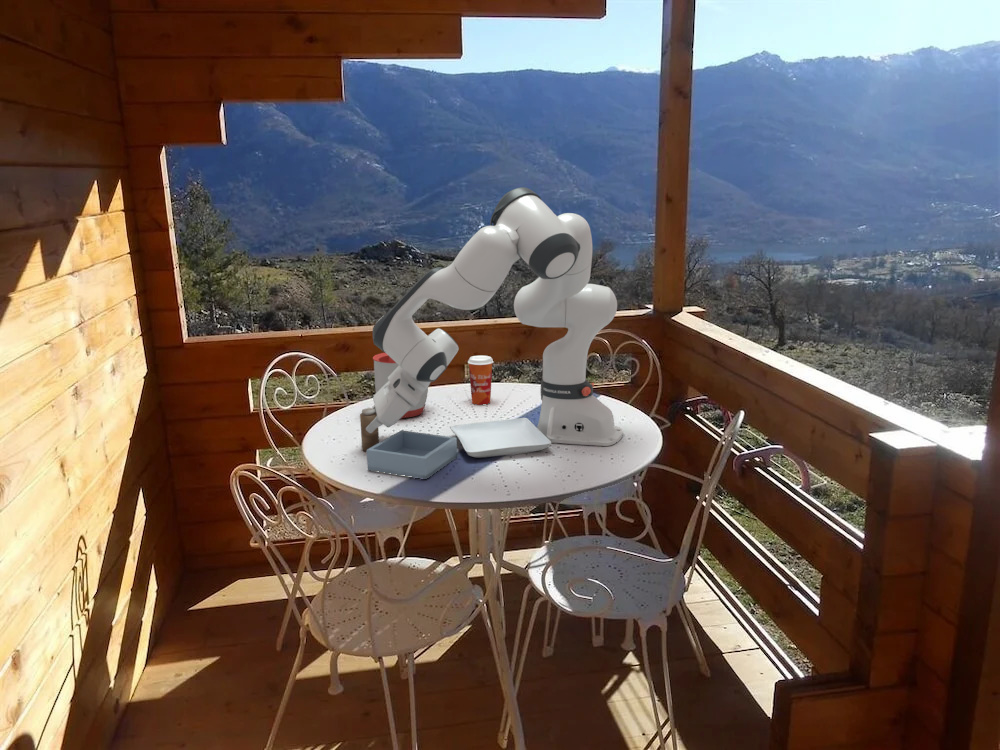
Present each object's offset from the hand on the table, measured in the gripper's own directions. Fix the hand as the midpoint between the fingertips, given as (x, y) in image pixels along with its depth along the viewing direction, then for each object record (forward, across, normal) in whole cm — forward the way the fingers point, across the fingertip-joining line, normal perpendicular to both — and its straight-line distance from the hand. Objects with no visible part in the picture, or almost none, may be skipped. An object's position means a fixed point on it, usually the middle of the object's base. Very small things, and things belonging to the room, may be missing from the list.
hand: (366, 426), depth 166 cm
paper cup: (-21, -34, +30) cm, 49 cm away
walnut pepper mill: (+4, 0, +5) cm, 6 cm away
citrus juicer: (-4, -29, +13) cm, 32 cm away
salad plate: (-18, +5, +27) cm, 33 cm away
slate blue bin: (-3, +13, +11) cm, 17 cm away
